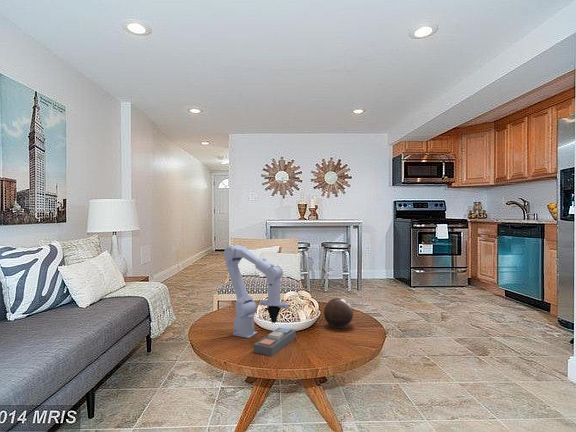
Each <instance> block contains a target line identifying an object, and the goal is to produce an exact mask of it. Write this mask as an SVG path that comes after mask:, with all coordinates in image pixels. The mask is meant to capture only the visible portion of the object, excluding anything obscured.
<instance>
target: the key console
mask: <svg viewBox="0 0 576 432" xmlns="http://www.w3.org/2000/svg"><path fill="white" fill-rule="evenodd" d="M281 328H282V327H279V328H276V329H275V330H274V331H278V330H279V329H281ZM296 338H297V331H296V329H291V332H289V333H288V334H283V337H282V338H281V339H280V340H276V339H270V338H268V334H267V335H266V336H265V337H263V338H261V339H260V340H258V341H257V342H255V343H253V354H254V353H255V354H260V355H264V356H269V357H272V356H274V355H276V354H277V353H278V352H279V351H280V350H282V349H283V348H285V347H286V346H288V344H290V343H291V342H292V341H294V340H295V339H296ZM264 339H269V340H275V343H274V344H273V345H271V346H265V345H260V344H259V342H261V341H262V340H264Z"/></svg>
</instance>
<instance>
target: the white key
mask: <svg viewBox="0 0 576 432" xmlns="http://www.w3.org/2000/svg"><path fill="white" fill-rule="evenodd" d="M267 335H268V338H270V339H276V340H280V339H281V338H282V337H283V333H282V332H277V331H275V330H273V331H272V332H270V333H268V334H267Z"/></svg>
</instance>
